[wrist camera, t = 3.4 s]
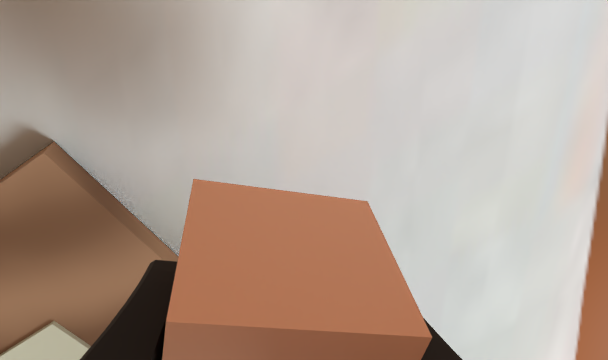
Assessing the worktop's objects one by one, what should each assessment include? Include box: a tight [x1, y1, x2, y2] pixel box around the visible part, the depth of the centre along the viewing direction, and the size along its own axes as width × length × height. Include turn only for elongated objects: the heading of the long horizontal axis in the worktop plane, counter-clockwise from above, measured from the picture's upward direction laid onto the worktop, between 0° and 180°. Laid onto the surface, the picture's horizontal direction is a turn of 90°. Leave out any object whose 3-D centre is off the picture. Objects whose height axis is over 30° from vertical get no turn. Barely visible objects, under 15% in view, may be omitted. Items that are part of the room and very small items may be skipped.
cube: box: [162, 179, 432, 360], centre depth 10 cm, size 4×4×4 cm
